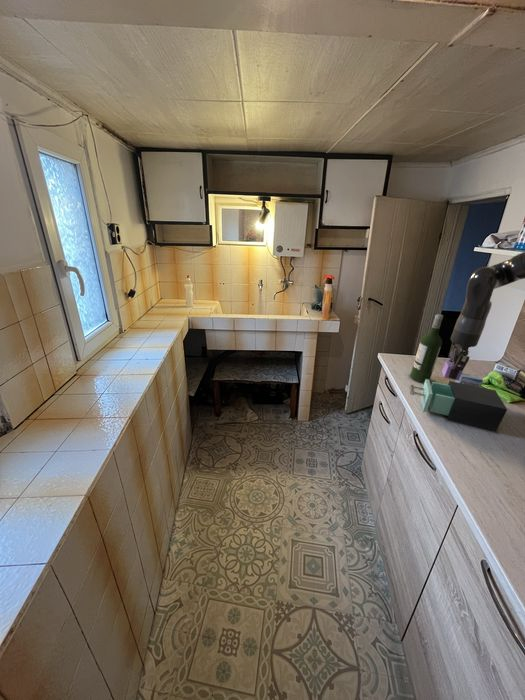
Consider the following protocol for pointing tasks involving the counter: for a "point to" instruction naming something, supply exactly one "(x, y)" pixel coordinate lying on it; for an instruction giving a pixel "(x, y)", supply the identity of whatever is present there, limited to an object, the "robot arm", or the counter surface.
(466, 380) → the medicine box
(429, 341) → the wine bottle
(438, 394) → the drawer
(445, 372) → the purple cube
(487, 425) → the drawer cabinet
